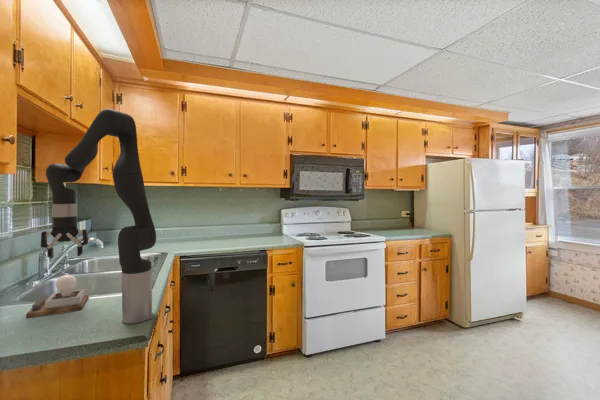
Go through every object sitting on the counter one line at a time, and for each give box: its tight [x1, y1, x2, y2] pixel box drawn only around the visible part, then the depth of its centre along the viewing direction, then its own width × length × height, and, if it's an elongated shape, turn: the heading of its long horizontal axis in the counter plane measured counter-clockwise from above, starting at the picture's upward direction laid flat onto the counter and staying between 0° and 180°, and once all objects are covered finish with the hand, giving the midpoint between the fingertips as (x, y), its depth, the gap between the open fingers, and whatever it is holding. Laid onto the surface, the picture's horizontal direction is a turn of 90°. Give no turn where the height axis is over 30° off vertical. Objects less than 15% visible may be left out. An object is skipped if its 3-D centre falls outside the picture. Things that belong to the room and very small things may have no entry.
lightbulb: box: [55, 274, 77, 298], centre depth 113 cm, size 6×6×11 cm
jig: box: [25, 288, 90, 319], centre depth 113 cm, size 16×14×4 cm
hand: (65, 256), depth 113 cm, fingers open, 8 cm apart
